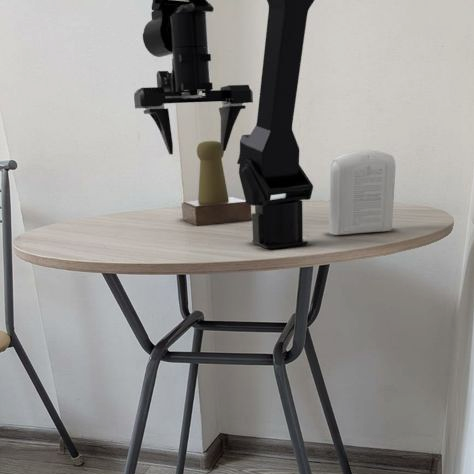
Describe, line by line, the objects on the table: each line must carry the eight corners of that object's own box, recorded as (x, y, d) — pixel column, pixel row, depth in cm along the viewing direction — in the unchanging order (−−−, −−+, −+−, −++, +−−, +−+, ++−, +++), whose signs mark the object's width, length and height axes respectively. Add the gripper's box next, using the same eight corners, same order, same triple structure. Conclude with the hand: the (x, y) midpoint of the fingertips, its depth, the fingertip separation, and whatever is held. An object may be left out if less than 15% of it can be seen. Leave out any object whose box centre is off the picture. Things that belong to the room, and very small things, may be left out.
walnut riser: (234, 214, 120) (233, 196, 119) (251, 220, 111) (250, 201, 110) (182, 219, 117) (181, 201, 116) (196, 225, 108) (194, 206, 107)
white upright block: (384, 227, 96) (387, 148, 92) (396, 231, 92) (400, 149, 88) (325, 233, 94) (325, 152, 90) (335, 237, 90) (336, 153, 86)
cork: (192, 201, 115) (188, 142, 111) (218, 198, 118) (215, 140, 114) (207, 203, 110) (203, 141, 106) (234, 200, 113) (231, 140, 109)
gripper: (229, 55, 103) (233, 148, 108) (123, 56, 97) (134, 155, 102) (252, 46, 93) (255, 149, 98) (135, 46, 87) (146, 156, 93)
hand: (197, 152), depth 98 cm, fingers open, 9 cm apart
